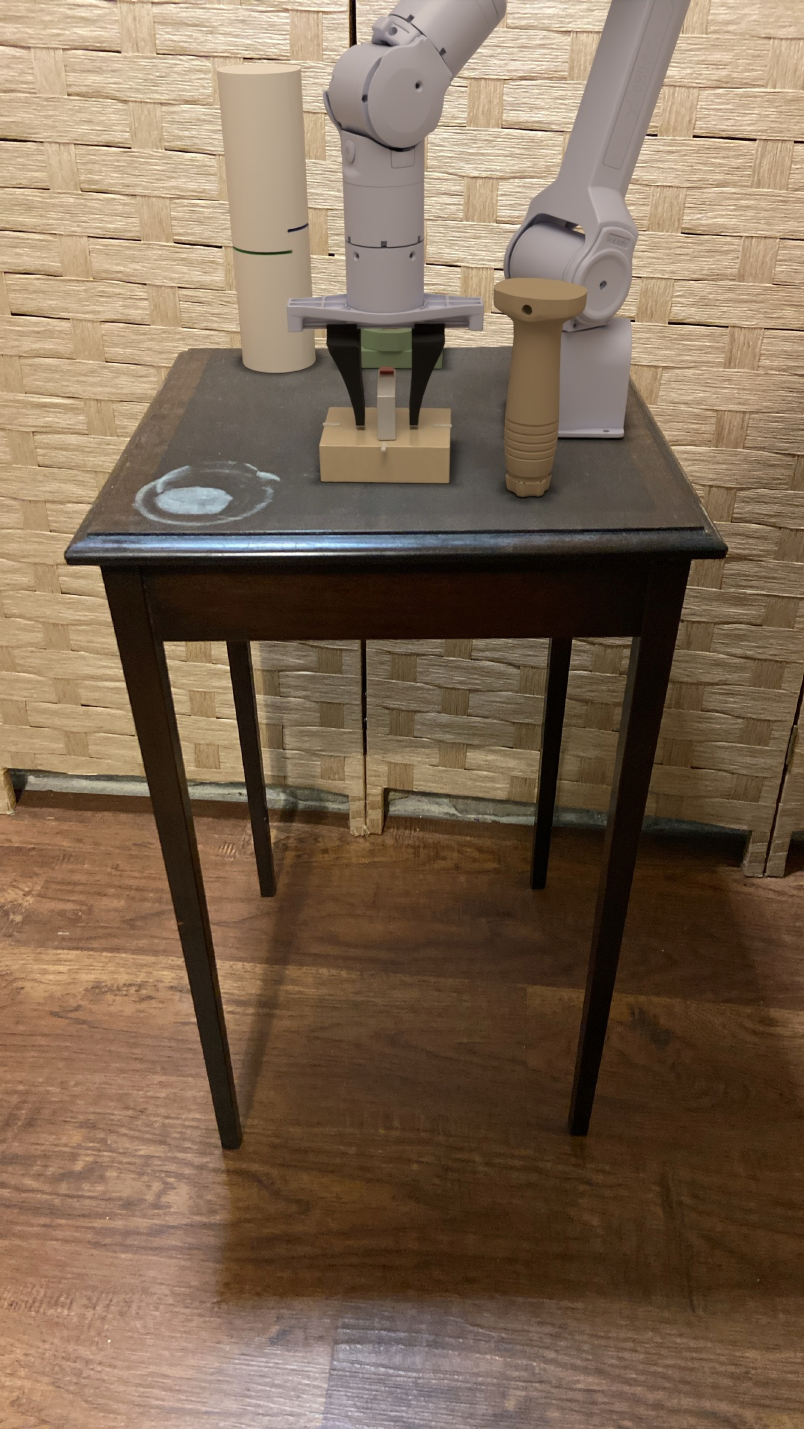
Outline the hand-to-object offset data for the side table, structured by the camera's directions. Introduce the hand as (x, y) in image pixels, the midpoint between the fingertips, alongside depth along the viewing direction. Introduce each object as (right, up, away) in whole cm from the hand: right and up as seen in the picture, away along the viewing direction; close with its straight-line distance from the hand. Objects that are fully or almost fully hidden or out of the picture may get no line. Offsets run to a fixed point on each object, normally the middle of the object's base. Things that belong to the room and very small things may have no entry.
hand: (387, 420), depth 89 cm
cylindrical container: (-11, +11, +22) cm, 27 cm away
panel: (0, -3, +2) cm, 3 cm away
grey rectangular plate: (0, 0, 0) cm, 0 cm away
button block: (0, +12, +22) cm, 25 cm away
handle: (+11, -6, -2) cm, 13 cm away
